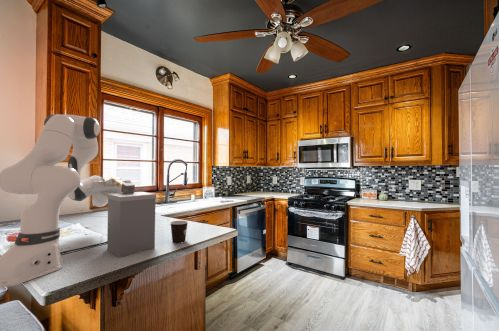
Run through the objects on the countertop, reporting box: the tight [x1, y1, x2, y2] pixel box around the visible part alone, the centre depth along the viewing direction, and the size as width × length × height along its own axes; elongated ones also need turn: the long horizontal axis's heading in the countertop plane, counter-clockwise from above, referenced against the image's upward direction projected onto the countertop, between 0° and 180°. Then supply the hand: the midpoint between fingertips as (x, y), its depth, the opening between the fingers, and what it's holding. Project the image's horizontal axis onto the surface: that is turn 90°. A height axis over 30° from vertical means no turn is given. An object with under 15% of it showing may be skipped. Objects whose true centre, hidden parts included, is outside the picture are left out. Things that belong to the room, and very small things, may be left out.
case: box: [106, 191, 157, 258], centre depth 114 cm, size 14×16×26 cm
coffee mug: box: [170, 220, 188, 244], centre depth 125 cm, size 12×9×10 cm
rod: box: [110, 176, 136, 194], centre depth 123 cm, size 21×4×4 cm, turn 49°
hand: (116, 179), depth 128 cm, fingers closed on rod, 3 cm apart
